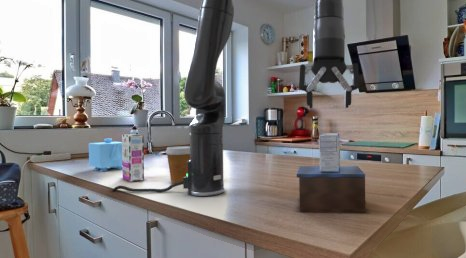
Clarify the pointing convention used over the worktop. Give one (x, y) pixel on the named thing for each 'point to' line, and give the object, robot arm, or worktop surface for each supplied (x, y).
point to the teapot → (105, 155)
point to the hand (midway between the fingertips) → (328, 107)
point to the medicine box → (329, 152)
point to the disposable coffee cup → (178, 162)
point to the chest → (332, 194)
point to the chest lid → (343, 172)
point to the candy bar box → (133, 157)
